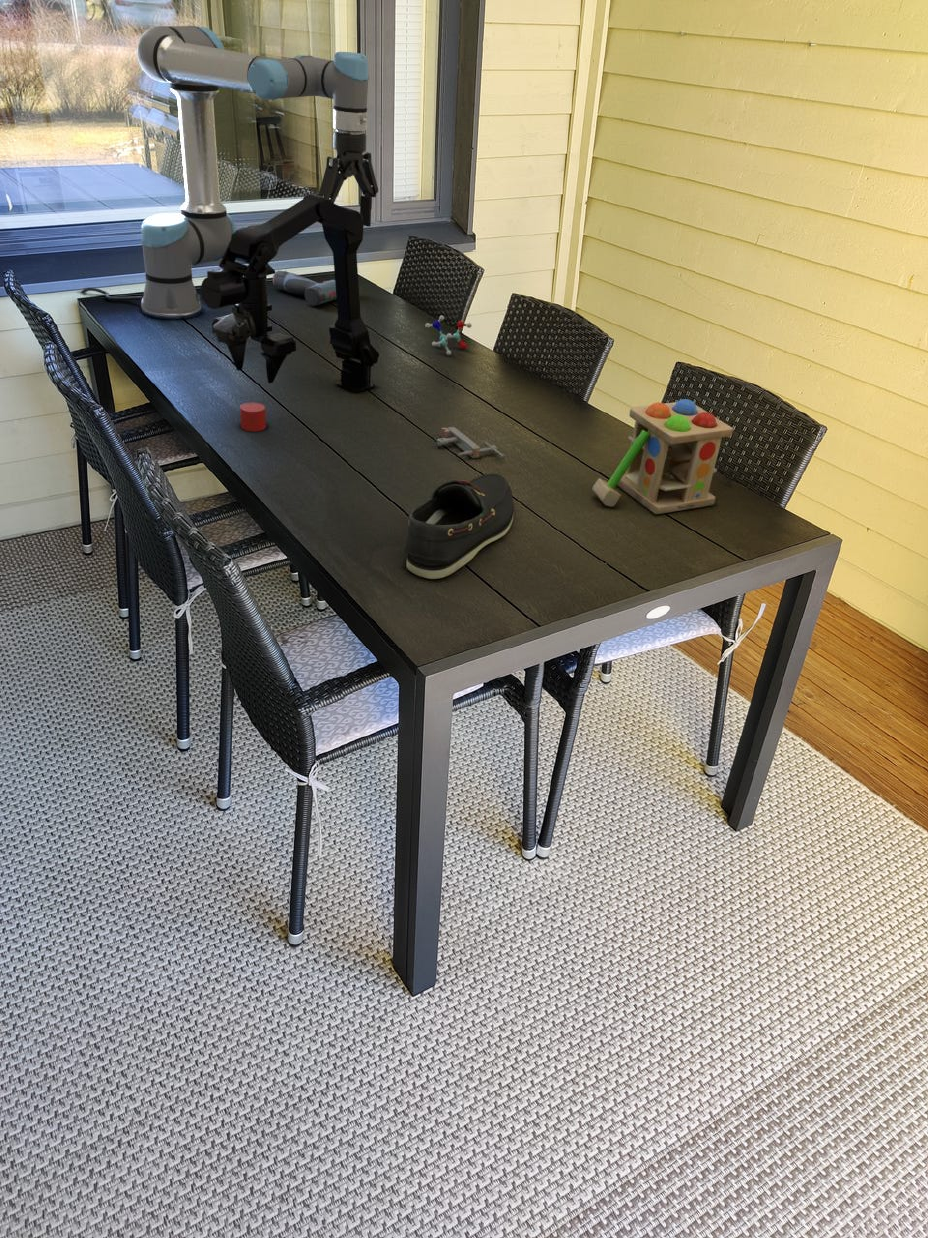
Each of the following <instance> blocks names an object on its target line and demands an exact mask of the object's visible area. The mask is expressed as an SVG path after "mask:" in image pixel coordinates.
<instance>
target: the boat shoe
mask: <svg viewBox="0 0 928 1238" xmlns="http://www.w3.org/2000/svg"><path fill="white" fill-rule="evenodd" d="M514 513H515V503H514V497H513V491H512V488H511V486H510V484H509V482H508V480H507V479H506V478H505V477H504V476H503V475H501V474H500V473H495V472H494V473H490V472H489V473H485V474H481V475H479V476H477V477H474V478H472V479H470V480H468V481H467V480H463V479H451V480H448V481H446V482H444V483H442V484H440V485H439V486H437V487H436V488H435V489H434V491H433V492H432V494H431V495H430V497H429V499H427V500H425V501H423V502H422V503H421V504H419V505H417V506H416V507H414V508H413V509H412V510H411V511H410V512H409V515H407V518H406V523H407V524H408V533H407V537H406V544H405V546H404V548H403V549H404V553H406V554H407V555H406V561H405V562H406V564H405V565H406V569H407V570H408V571H409V572H410V573H412V574H414V575H416V576H417V577H421V578H424V579H430V580H436V579H442V578H445V577H448V576H450V575H452V574H453V573H455V572H456V571H458V570H459V569H460V568H462V567H464V566H465V565H467V563H469V562H470V561H472V559H474V557H475V556H476V555H477V554H478V553H479V551H480V550H482V549H483V548H485V546H487V545H489V544H491V543H492V542H493V543H494V541H497V540H499V539H500V538H502V537H504V536H505V535H506V534H507V533H508V532H509V530H510V529H511V527H512V525H513V521H514V515H515V514H514Z"/></svg>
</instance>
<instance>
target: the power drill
mask: <svg viewBox="0 0 928 1238" xmlns="http://www.w3.org/2000/svg"><path fill="white" fill-rule="evenodd" d="M272 284H273V286H274V287H275V288H276V289H279V290H281V291H284V292H286V293H290V294H294V295H299V296H304V299H305V301H306V303H307V304H308V305H310V306H312V307H313V306H319V305H322V304H326V303H328V302H332V301H334V300H337V298H336V285H335V279H330V280H324V281H322V282H317V281H314V280H312V279H309V278H307V277H305V276H302V275H300V274H296V273H293V272H289V271H287V270H276V271H275V274H273V276H272Z"/></svg>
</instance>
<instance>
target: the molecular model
mask: <svg viewBox="0 0 928 1238" xmlns="http://www.w3.org/2000/svg"><path fill="white" fill-rule="evenodd" d="M444 320H445V316H444V315H440V316H439V318H438V320H436V321H434V322H433V323H430V322H429V323H428V322H427V323H425V325H424V326H425V328H426V329H430V327H434V329H437V331H438V333H439V340H438V341H432V342H431V346H432V347H433V348H434V347H436V348H440V347H443V348H445V351H446V352H445V353H446V355H447V356H450V355H452V351H451V350H450V349H449V347H448V344H449V343H448V342H449V339H453V340H455V341H457V343H458V345H459V346H460V349H461V350H466V349H467V343H465V342H464V341H463V340H462V339H461V334H460V332H461V329H463V327H466V328H468V329H471V328H472V323H471V322H468V323H464V322H463V321H461V320H459V321H458V322H457V330H456V332H455V333H453V334H452V333H450V332H449V333H447V334H444V333H443V331H442V330H441V328H440V327H441V322H442V321H444Z"/></svg>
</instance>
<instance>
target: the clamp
mask: <svg viewBox="0 0 928 1238" xmlns="http://www.w3.org/2000/svg"><path fill="white" fill-rule="evenodd" d="M452 443H453V444H454V445H456V446H457V447H458V448H459V449H460V450H462V451H463V452H458V453H457V456H458V457H460V456H469V457H470V458H472V459H477V458H480V454H482V453H487V452H488V453H496V454H497V455H498V456H499V457H500V459H502V460H504V459H506V457H507V456H506V454H504V453H501V452H500V451H499V450H498V447H497V446H496V445H495V444H494V445H491V444H490V443H489V442H488V441H486V440H485V441H484V442H483V446H484V447H483V448H481V447H480V446H479V444H476V443H475V442H474V441H473V440H471V439H470V438H469V437H468V436H466V435H465V434H464V433H463V432H461V431H460V430H459V429H457V428H456V427H455V426H450V427H441V429H440V437H439V438H436V444H437V445H438V446H439V447H441V446H448V445H449V444H452Z"/></svg>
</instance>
